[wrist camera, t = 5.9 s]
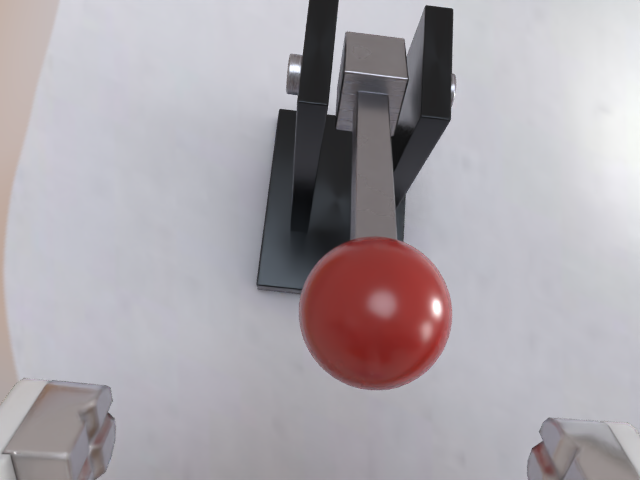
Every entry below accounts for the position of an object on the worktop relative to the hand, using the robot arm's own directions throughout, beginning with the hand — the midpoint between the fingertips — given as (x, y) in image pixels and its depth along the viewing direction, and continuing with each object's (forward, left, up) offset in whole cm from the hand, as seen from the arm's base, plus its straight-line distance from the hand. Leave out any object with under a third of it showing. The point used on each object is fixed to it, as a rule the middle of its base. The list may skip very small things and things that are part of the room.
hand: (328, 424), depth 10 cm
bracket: (+11, +4, -19) cm, 22 cm away
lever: (+6, +2, -6) cm, 8 cm away
